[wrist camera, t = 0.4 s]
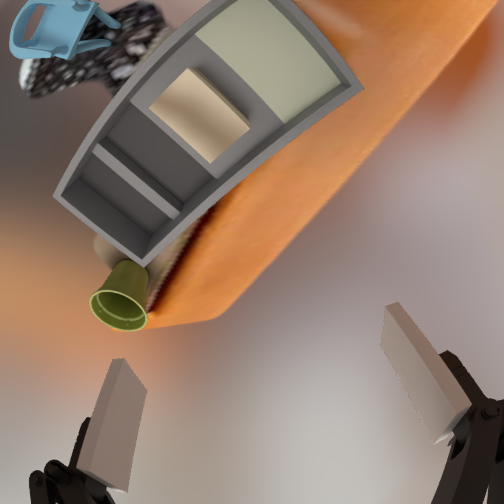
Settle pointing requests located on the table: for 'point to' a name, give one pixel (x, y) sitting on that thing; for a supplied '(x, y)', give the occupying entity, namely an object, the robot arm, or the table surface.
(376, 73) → the table surface
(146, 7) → the table surface
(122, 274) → the plant pot
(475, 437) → the robot arm
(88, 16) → the chair
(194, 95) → the birch block
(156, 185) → the tray
